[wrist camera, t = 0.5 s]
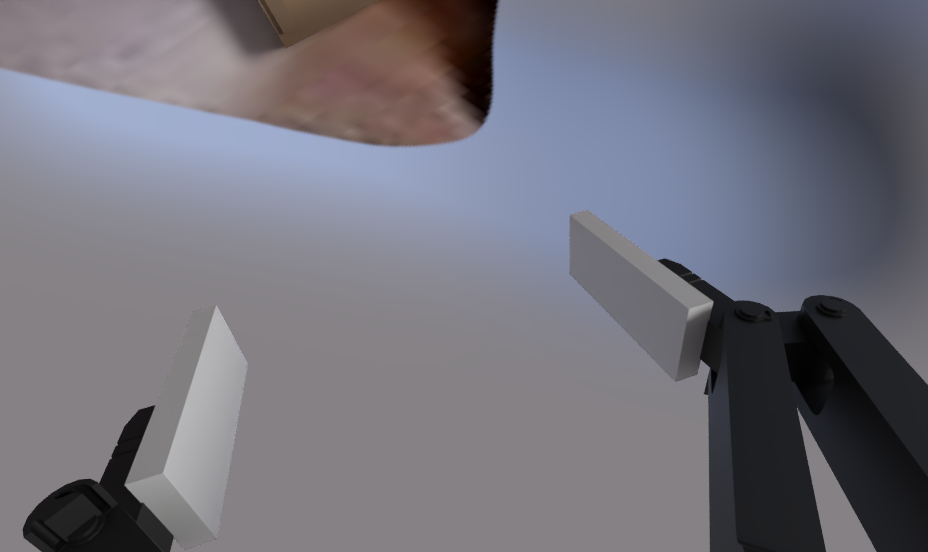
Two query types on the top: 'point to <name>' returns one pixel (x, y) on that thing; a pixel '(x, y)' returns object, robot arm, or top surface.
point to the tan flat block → (307, 16)
